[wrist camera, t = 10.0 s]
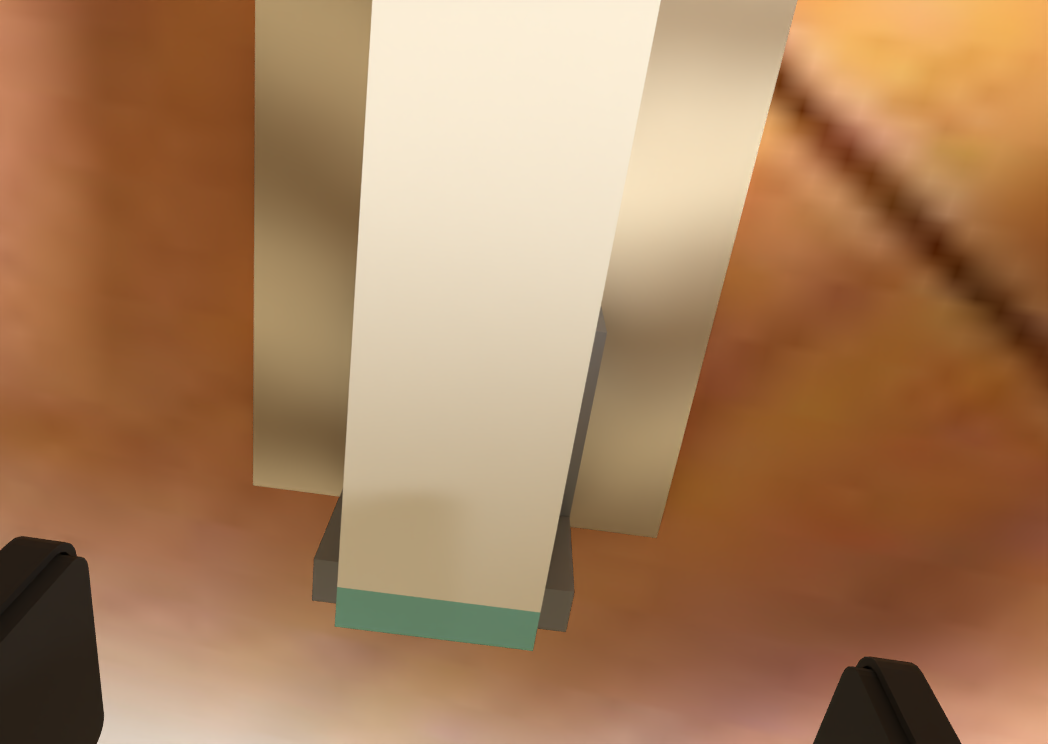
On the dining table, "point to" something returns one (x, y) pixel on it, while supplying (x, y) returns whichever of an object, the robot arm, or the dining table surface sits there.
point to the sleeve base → (634, 268)
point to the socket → (561, 562)
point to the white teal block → (478, 300)
